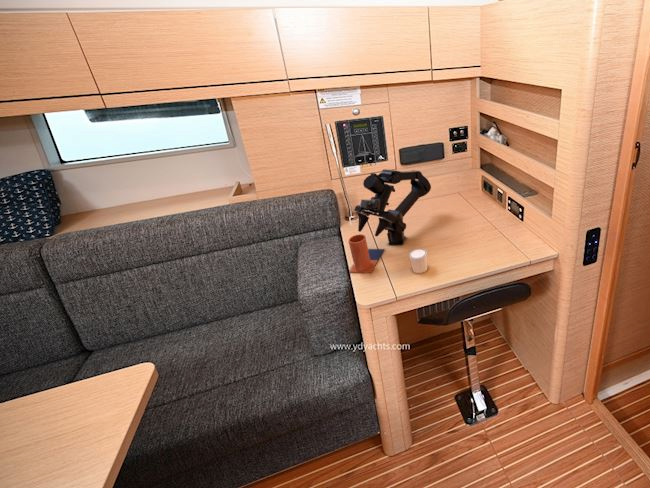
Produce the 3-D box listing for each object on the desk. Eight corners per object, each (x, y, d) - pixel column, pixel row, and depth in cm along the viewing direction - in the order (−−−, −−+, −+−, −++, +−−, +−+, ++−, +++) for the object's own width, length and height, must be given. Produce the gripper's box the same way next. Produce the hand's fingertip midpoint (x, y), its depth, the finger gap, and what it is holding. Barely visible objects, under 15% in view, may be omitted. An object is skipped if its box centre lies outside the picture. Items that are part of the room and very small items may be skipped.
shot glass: (421, 261, 134) (419, 246, 132) (432, 267, 130) (430, 252, 127) (407, 269, 130) (405, 254, 127) (419, 276, 125) (416, 260, 123)
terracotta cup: (359, 261, 137) (353, 234, 132) (373, 262, 136) (368, 234, 131) (352, 271, 132) (345, 242, 127) (367, 271, 130) (360, 243, 125)
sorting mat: (384, 249, 145) (383, 249, 145) (371, 272, 130) (370, 272, 130) (364, 249, 146) (364, 249, 146) (349, 272, 132) (349, 271, 131)
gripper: (352, 187, 136) (337, 223, 132) (387, 193, 126) (371, 232, 122) (370, 197, 145) (356, 231, 141) (403, 204, 135) (389, 240, 131)
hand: (367, 233), depth 133 cm, fingers open, 9 cm apart
